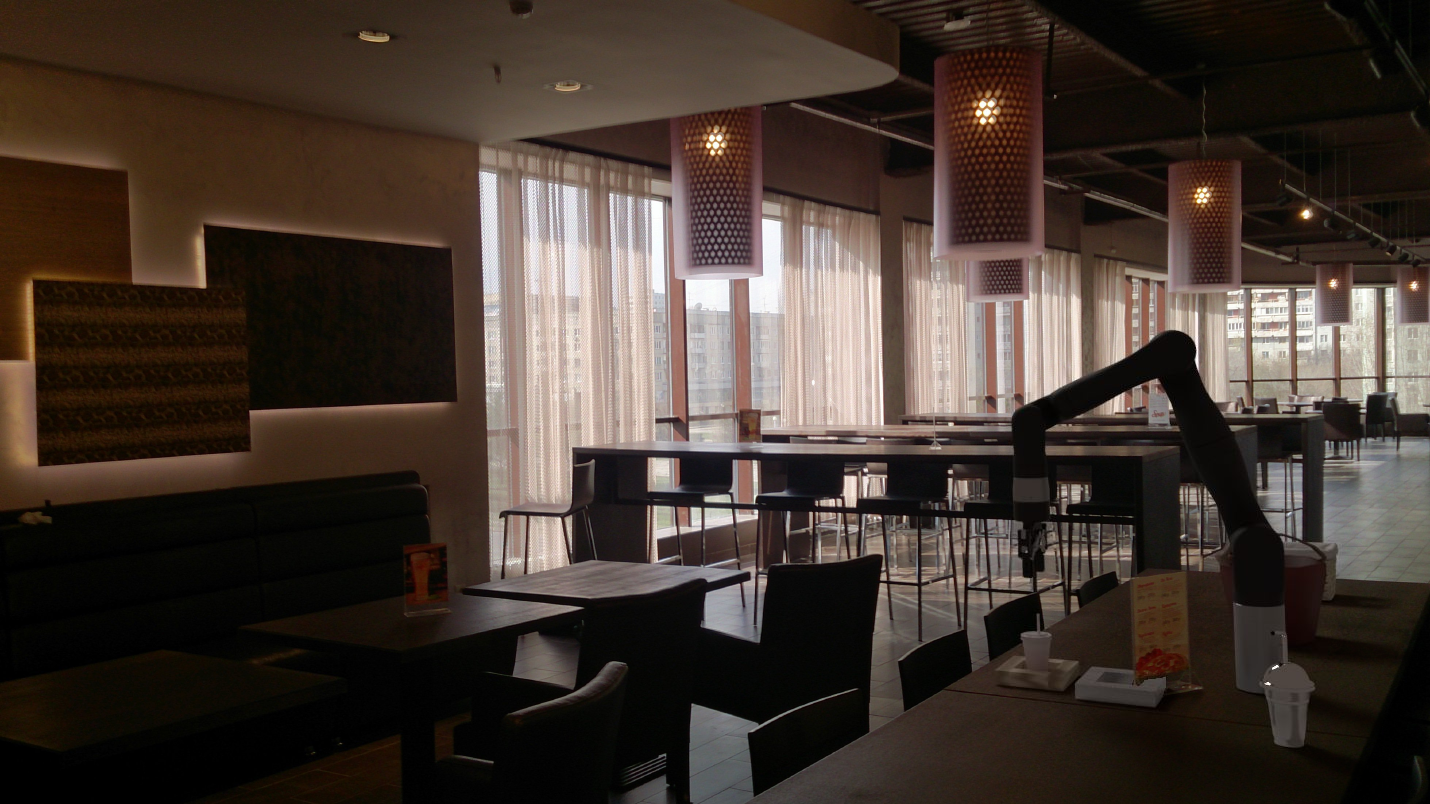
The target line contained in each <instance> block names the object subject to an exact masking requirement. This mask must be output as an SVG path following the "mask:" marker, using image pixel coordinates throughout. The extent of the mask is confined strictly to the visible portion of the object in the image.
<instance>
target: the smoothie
mask: <svg viewBox="0 0 1430 804" xmlns="http://www.w3.org/2000/svg"><path fill="white" fill-rule="evenodd" d="M1040 615H1041V614H1040V613H1036V627H1037V628H1036V631H1025V632H1022V633H1020V640H1021V641H1022V643H1023V644H1022V645H1023V646H1022V647H1023V651H1024V656H1025V659H1026V665H1027V670H1037V671H1048V663H1049V659H1050V649H1051V641H1052V640H1053V637H1052V634H1051V633H1049V632H1047V631H1041V621H1040V619H1041V618H1040Z"/></svg>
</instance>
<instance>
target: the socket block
mask: <svg viewBox="0 0 1430 804" xmlns="http://www.w3.org/2000/svg"><path fill="white" fill-rule="evenodd" d="M994 676H995V677H994V678H995V679H994V680H995V685H997V686H1007V687H1009V686H1010V687H1018V688H1026V689H1027V688H1028V689H1037V690H1047V691H1056V692H1064V691H1065V690H1066V689H1068V687H1069V686H1070V685H1072V683H1074V681H1075V680H1076V679H1077V678H1078V677H1079V676H1080V661H1078V660H1068V659H1067V660H1066V659H1059V658H1058V659H1057V658H1049V663H1048V671H1037V670H1027V665H1026V659H1025V655H1024V656H1023V655H1012V657H1010V658H1009V659H1008V660H1006V661H1005V662H1004V663H1002V664H1001V665H1000V666H999V667H997V668H996V669H994Z"/></svg>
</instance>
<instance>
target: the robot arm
mask: <svg viewBox="0 0 1430 804" xmlns="http://www.w3.org/2000/svg"><path fill="white" fill-rule="evenodd" d="M1197 351H1198V350H1197V345H1196V342H1195V341H1194V339H1193V337H1191V336H1190V335H1189V334H1187V333H1186V332H1184V331H1181V330H1177V329H1168V330H1163V331H1161V332H1159V333H1157V334H1156V335H1155V336H1153V337H1152V338H1151V339H1150V341H1149V342H1147V343H1146V344H1144V345H1143V346H1142V347H1141V348H1139V349H1138V350H1136V351H1134V352H1133V353H1131V354H1130V355H1127V356H1125V357H1124V358H1122V359H1120V360H1118V361H1116V362H1113V363H1112V364H1109V365H1108V366H1105V367H1103V368H1101V369H1097V370H1095V371H1093V372H1091V373H1088V374H1086V375H1084V376H1081V377H1079V378H1077V379H1075V380H1072V381H1071V382H1069V383H1066V384H1065V385H1062V386H1061V387H1058V388H1056V389H1055V390H1054V391H1052V392H1051V393H1049V394H1047V395H1044V396H1042V397H1040V398H1038V399H1035V400H1033V401H1031V402H1028V403H1026V404H1024V405H1021V406H1019V407H1018V408H1017V409H1015V411H1014V412H1012V413H1013V414H1012V416H1011V419H1010V420H1011V421H1010V425H1011V438H1012V448H1013V457H1012V472H1013V473H1012V474H1013V482H1012V506H1013V508H1012V509H1013V519H1014V521H1015V522H1018V523H1022V528H1019V529H1017V558H1019V559H1020V560H1021V565H1022V566H1021V568H1022V571H1021V572H1022V578H1024V579H1034V577H1035V572H1036V573H1043V572H1044V573H1045V570H1046V567H1045V565H1046V564H1045V554H1046V553H1047V551H1048V549H1049V546H1048V529H1047V526H1048V524H1047V522H1049V521H1050V520H1051V499H1050V498H1051V497H1050V484H1049V477H1048V476H1049V475H1048V474H1049V473H1048V458H1047V454H1046V453H1047V452H1046V436H1047V435H1046V432H1047V431H1048V430H1049V429H1051V428H1054V427H1055V426H1057V425H1059V424H1061V423H1063V422H1067V421H1069V420H1072V419H1074V418H1077V417H1080V416H1081V415H1084V414H1085V413H1087V412H1089V411H1091V410H1094V409H1096V408H1098V407H1100V406H1102V405H1104V404H1105V403H1108V402H1109V401H1111V400H1113V399H1115V398H1116V397H1118V396H1120V395H1122V394H1124V393H1126V392H1127V391H1129V390H1132V389H1134V388H1135V387H1139V386H1141V385H1143V384H1146V383H1148V382H1151V381H1154V380H1158V382H1159V383H1160V385H1161V387H1162V389H1163V391H1164V393H1165V394H1166V396H1167V399H1168V400H1169V403H1170V405H1171V408H1172V411H1173V413H1174V418H1175V422H1176V424H1177V427H1178V430H1179V432H1180V436H1181V438H1182V441H1183V443H1184V445H1185V448H1186V451H1187V453H1188V455H1189V458H1190V460H1191V462H1192V465H1193V467H1194V468H1195V470H1196V472H1197V474H1198V476H1199V477H1200V479H1201V482H1202V483H1203V485H1204V486H1205V489H1207V491H1208V493H1209V494H1210V496H1211V498H1212V499H1213V501H1214V503H1215V506H1216V507H1217V509H1218V511H1219V515H1220V517H1221V520H1222V523H1223V526H1224V529H1225V532H1226V536H1227V540H1228V539H1229V543H1230V547H1231V550H1232V551H1231V553H1232V555H1233V572H1234V585H1233V601H1234V602H1233V608H1234V628H1233V632H1234V655H1235V656H1234V659H1235V662H1234V663H1235V679H1236V680H1235V681H1236V682H1235V683H1236V685H1235V686H1236V687H1237V688H1236V689H1238V690H1240V691H1244V692H1248V693H1253V694H1261V695H1265V689H1264V688H1263V687H1261V686H1260V685H1259V683H1260V679H1261V678H1262V677H1264V675H1265V673H1266V671H1267V669H1268V668H1269V667H1270V666H1271V665H1273V664H1275V663H1277V662H1283V639H1282V635H1271V632H1272V631H1284V632H1285V607H1284V593H1285V553H1284V545H1283V542H1284V541H1283V539H1282V536H1279V535H1278V533H1279V532H1277V531H1276V530H1275V529H1274V528H1273V527H1272V525H1271V523H1270V522H1269V520H1268V518H1267V517H1266V516H1265V514H1264V511H1263V510H1262V508H1261V507H1260V504H1259V503H1258V501H1257V499H1256V496H1255V494H1254V492H1253V489H1252V485H1251V481H1250V478H1249V477H1250V476H1249V473H1248V470H1247V466H1246V462H1245V459H1244V457H1243V454H1242V451H1241V448H1240V447H1239V444H1238V442H1237V439H1236V438H1235V435H1234V433H1233V431H1232V428H1231V427H1230V425H1229V422H1228V421H1227V420H1226V417H1224V415H1223V413H1222V412H1221V410H1220V408H1219V407H1218V406H1217V404H1216V403H1215V401H1214V400H1213V398H1212V397H1211V396H1210V394H1209V392H1208V391H1207V389H1206V387H1205V384H1204V382H1203V380H1202V377H1201V374H1200V371H1199V368H1198V367H1197V366H1198V365H1197V363H1196V358H1197Z"/></svg>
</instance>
